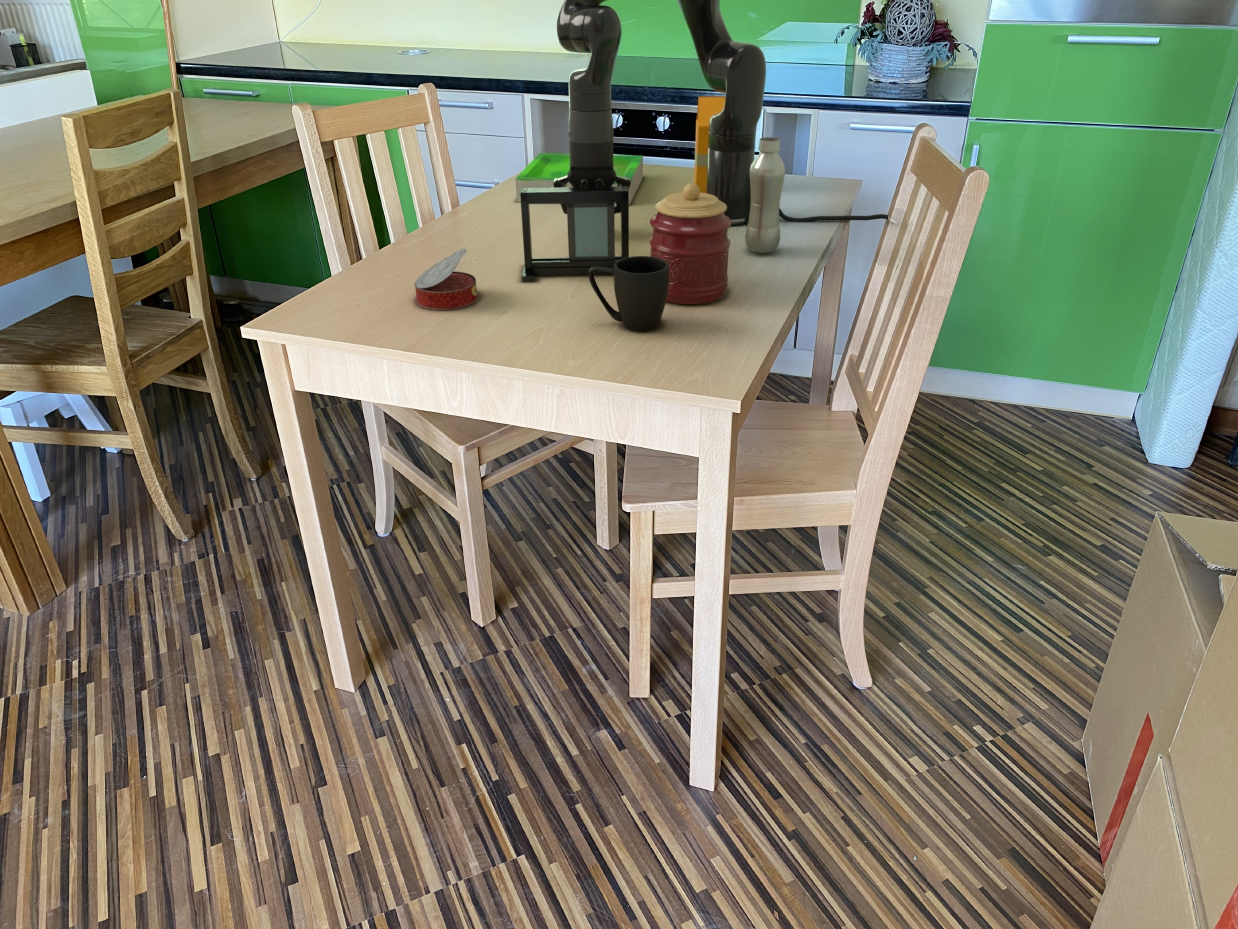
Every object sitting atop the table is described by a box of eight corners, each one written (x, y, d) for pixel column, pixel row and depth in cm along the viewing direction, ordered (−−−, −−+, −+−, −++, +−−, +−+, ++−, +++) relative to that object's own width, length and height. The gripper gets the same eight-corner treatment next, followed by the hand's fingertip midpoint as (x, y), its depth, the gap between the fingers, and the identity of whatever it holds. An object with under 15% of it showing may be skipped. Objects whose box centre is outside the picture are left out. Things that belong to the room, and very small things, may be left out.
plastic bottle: (783, 247, 170) (793, 136, 159) (773, 258, 164) (782, 144, 154) (750, 243, 172) (757, 134, 162) (739, 254, 167) (746, 141, 156)
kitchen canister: (674, 311, 143) (677, 198, 134) (635, 286, 153) (635, 179, 143) (742, 297, 148) (750, 187, 139) (700, 273, 158) (704, 170, 149)
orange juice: (734, 193, 203) (740, 98, 193) (695, 193, 204) (698, 99, 193) (731, 184, 210) (736, 92, 200) (693, 184, 210) (696, 93, 200)
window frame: (629, 264, 162) (629, 182, 155) (631, 279, 155) (631, 194, 148) (524, 266, 162) (519, 184, 154) (522, 281, 155) (516, 196, 147)
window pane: (613, 249, 164) (612, 188, 158) (614, 262, 158) (614, 200, 152) (569, 250, 164) (567, 189, 158) (569, 263, 157) (566, 200, 152)
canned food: (459, 335, 147) (438, 294, 138) (412, 317, 151) (389, 275, 142) (498, 287, 151) (480, 243, 142) (452, 270, 155) (432, 227, 146)
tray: (540, 174, 220) (539, 153, 217) (642, 177, 217) (642, 155, 214) (516, 201, 199) (515, 178, 196) (629, 205, 196) (629, 181, 193)
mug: (596, 311, 143) (595, 252, 138) (671, 316, 141) (673, 257, 136) (584, 331, 136) (582, 270, 131) (663, 337, 134) (664, 275, 129)
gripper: (631, 131, 156) (631, 229, 165) (549, 132, 156) (553, 231, 165) (634, 140, 150) (633, 242, 159) (548, 141, 149) (552, 243, 158)
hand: (593, 236), depth 162 cm, fingers open, 4 cm apart
